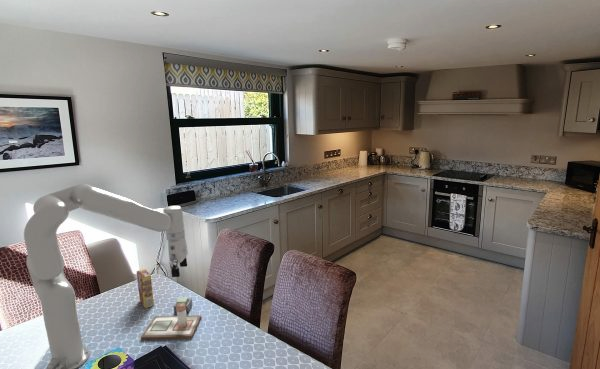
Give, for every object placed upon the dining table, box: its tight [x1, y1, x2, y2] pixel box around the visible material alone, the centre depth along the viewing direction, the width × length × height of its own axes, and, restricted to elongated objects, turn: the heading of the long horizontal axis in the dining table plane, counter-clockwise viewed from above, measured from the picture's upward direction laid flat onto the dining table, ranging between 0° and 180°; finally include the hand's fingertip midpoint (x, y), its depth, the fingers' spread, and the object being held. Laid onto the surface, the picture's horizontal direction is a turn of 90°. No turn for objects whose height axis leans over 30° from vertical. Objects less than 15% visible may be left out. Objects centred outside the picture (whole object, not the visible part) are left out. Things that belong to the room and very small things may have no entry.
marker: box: [176, 303, 188, 328], centre depth 142 cm, size 4×4×9 cm
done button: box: [176, 296, 189, 305], centre depth 156 cm, size 4×4×2 cm
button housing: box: [173, 297, 193, 314], centre depth 157 cm, size 6×6×4 cm
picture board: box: [140, 314, 202, 341], centre depth 143 cm, size 14×20×1 cm
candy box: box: [136, 268, 155, 309], centre depth 162 cm, size 9×4×15 cm, turn 39°
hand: (179, 271), depth 153 cm, fingers open, 9 cm apart
